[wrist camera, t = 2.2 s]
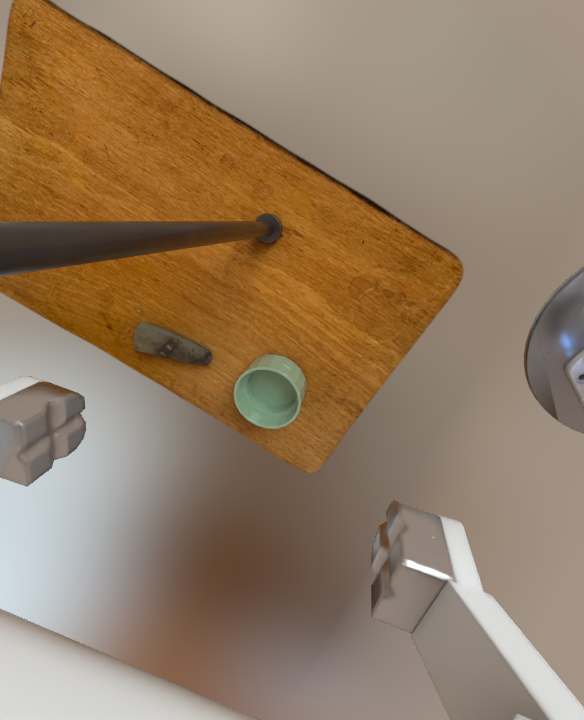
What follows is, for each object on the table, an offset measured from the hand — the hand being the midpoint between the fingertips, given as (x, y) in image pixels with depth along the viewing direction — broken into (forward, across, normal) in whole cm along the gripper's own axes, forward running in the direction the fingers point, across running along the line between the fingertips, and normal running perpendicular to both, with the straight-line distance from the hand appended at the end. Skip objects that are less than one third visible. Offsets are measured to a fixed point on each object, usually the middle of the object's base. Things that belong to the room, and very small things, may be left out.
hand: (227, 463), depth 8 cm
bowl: (+40, -5, -20) cm, 45 cm away
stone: (+40, -23, -19) cm, 50 cm away
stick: (+40, -11, +2) cm, 42 cm away
